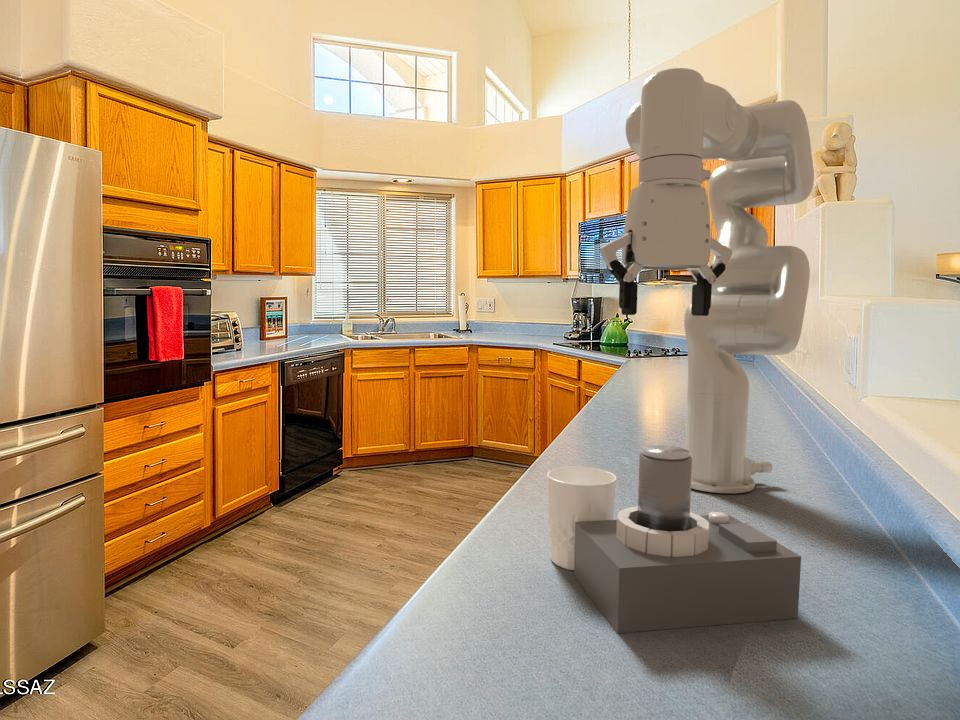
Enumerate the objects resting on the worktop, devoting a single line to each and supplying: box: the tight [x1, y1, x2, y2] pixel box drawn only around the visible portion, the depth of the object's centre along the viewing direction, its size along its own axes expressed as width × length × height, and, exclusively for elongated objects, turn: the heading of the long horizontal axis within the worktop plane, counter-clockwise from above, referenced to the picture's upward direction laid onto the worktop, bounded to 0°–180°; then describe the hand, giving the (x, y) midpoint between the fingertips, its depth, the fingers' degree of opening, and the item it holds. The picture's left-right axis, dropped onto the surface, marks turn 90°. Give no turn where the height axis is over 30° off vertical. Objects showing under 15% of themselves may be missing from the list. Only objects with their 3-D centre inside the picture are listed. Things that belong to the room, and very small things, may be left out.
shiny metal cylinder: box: [637, 444, 692, 532], centre depth 61 cm, size 5×5×9 cm
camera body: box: [573, 505, 802, 634], centre depth 61 cm, size 18×12×8 cm, turn 100°
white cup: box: [546, 466, 618, 572], centre depth 70 cm, size 8×8×10 cm
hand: (664, 315), depth 77 cm, fingers open, 9 cm apart
